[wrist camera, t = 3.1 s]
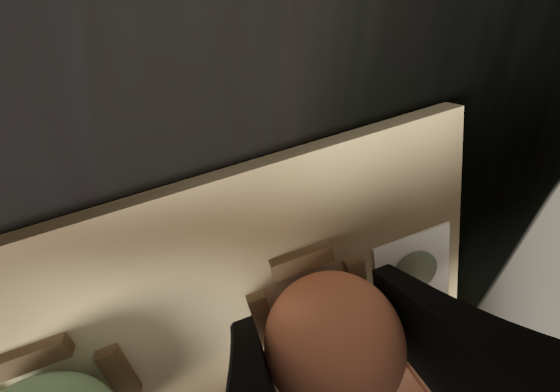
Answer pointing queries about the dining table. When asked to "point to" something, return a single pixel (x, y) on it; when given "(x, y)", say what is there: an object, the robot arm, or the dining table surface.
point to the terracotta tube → (412, 381)
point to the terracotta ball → (334, 337)
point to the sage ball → (59, 383)
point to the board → (227, 253)
